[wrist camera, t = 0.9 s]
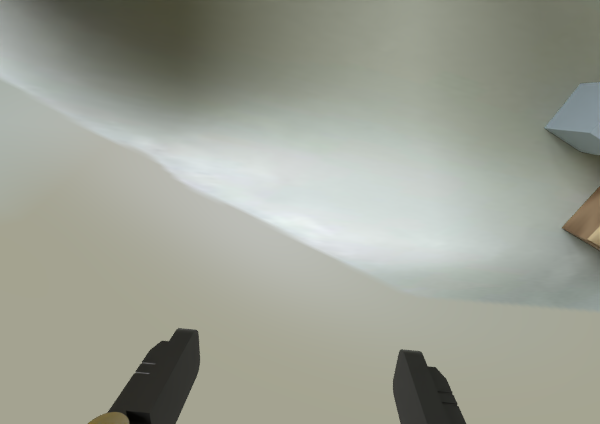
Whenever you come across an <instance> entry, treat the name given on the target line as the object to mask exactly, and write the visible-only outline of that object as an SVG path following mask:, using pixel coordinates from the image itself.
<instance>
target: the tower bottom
mask: <svg viewBox="0 0 600 424" xmlns="http://www.w3.org/2000/svg"><path fill="white" fill-rule="evenodd" d="M599 226H600V187H599V188H598V189H597V190H596V191H595V192H594V193H593V194H592V195H591V196H590V197H589V199H588V200H587V201H586V202H585V203H584V204H583V205H582V206H581V207H580V208H579V209H578V210H577V212H576V213H575V214H574V215H573V216H572V217H571V218H570V219H569V220H568V221H567V222H566V224H565V225H564V226H563V227H562V228H563V229H564V230H566V231H568V232H569V233H571V234H573V235H574V236H576V237H578V238H579V239H581V240H583V241H584V242H586V243H588V244H589V245H591V246H593V247H594V248H596V249H598V250H599V251H600V247H599V246H598V245H596V244H594V243H593V242H591V241H589V240H588V238H589V237H590V236H591V235H592V234H593V233H594V232H595V231H596V229H597V228H598V227H599Z"/></svg>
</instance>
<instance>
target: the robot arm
mask: <svg viewBox="0 0 600 424" xmlns="http://www.w3.org/2000/svg"><path fill="white" fill-rule="evenodd" d="M199 365H200V351H199V336H198V331H197V330H192V329H182V328H178V329H177V330H176V331H175V333H174V334H173V336H172V338H171V339H170V341H161V342H160V343H158V344H157V345H156V346H155V347H154V348H152V349H151V350H150V351H149V353H148V354H147V355H146V357H145V358H144V360H143V361H142V364H140V366H139V367H138V369H137V370H136V373H135V374H134V375H133V376H132V377H131V379H130V381H129V382H128V383H127V385H126V386H125V388H124V389H123V391H122V392H121V394H120V395H119V397H118V398H117V400H116V401H115V403H114V404H113V406H112V407H111V408H110V410H109V411H108V412H107V413H106V414H103V415H100V416H98V417H96V418H95V419H93V420H92V421H90V422H89V423H88V424H176V421H177V419H178V417H179V415H180V413H181V410H182V408H183V406H184V403H185V401H186V399H187V397H188V395H189V392H190V390H191V388H192V385H193V383H194V381H195V379H196V376H197V374H198V370H199ZM393 393H394V398H395V402H396V406H397V410H398V414H399V419H400V422H401V424H466V422H465V420H464V418H463V416H462V414H461V411H460V409H459V407H458V406H457V402H456V400H455V398H454V396H453V395H452V391H451V389H450V386H449V384H448V382H447V380H446V378H445V377H444V376H443V375H442V374H441V373H440V372H439V371H438V370H437V368H436V367H428V366H427V364H426V361H425V359H424V356H423V354H422V352H420V351H412V350H400V352H399V355H398V360H397V364H396V369H395V374H394V379H393Z"/></svg>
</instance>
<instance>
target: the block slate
mask: <svg viewBox="0 0 600 424" xmlns="http://www.w3.org/2000/svg"><path fill="white" fill-rule="evenodd" d="M545 129H546V130H548V131H550V132H551V133H553V134H554V135H556V136H557V137H559V138H560V139H562V140H563V141H565V142H566V143H568V144H570V145H571V146H573V147H574V148H576V149H577V150H579V151H580V152H584V153H590V154H595V155H600V82H592V83H580V85H579V86H578V87H577V88H576V90H575V91H574V92H573V93H572V95H571V96H570V97H569V98H568V99H567V101H566V102H565V103H564V104H563V106H562V107H561V108H560V109H559V111H558V112H557V113H556V114H555V116H554V117H553V118H552V119H551V120H550V122H549V123H548V124H547V125H546V127H545Z"/></svg>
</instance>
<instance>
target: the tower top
mask: <svg viewBox="0 0 600 424" xmlns="http://www.w3.org/2000/svg"><path fill="white" fill-rule="evenodd" d="M588 240H589V241H591V242H593V243H594V244H596V245H598V246H599V247H600V226H599V227H598V228H597V229H596V231H595V232H594V233H593V234H592V235H591V236H590V237H589V238H588Z"/></svg>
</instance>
